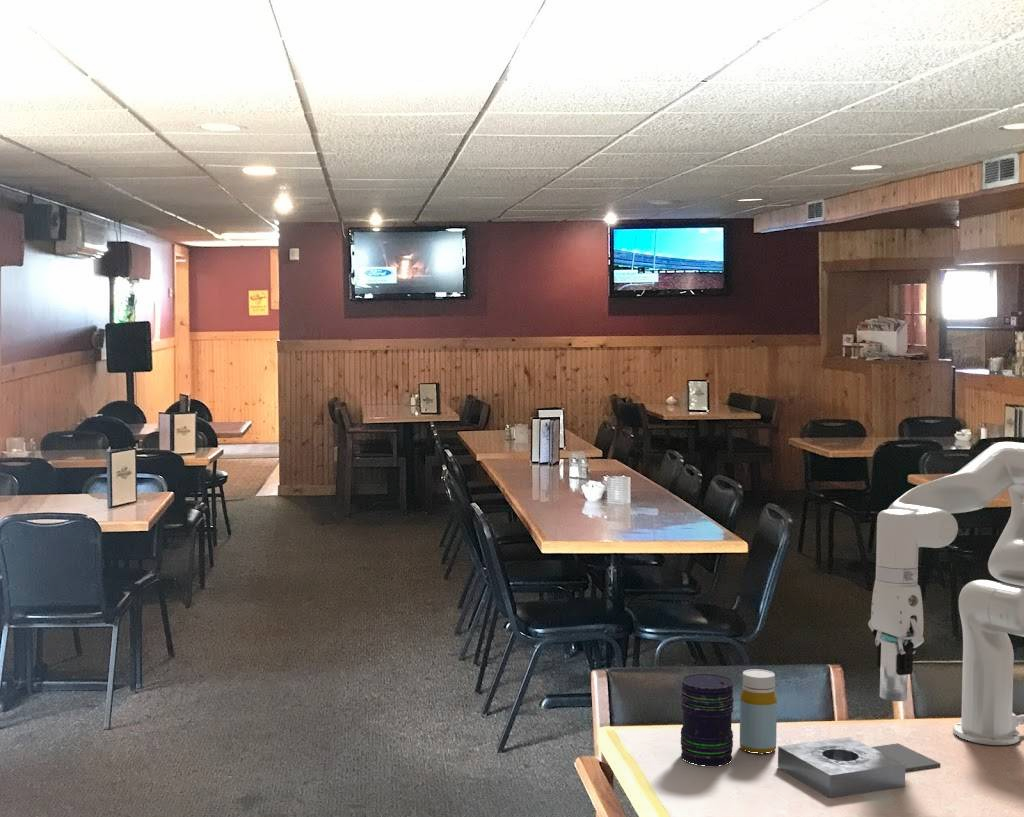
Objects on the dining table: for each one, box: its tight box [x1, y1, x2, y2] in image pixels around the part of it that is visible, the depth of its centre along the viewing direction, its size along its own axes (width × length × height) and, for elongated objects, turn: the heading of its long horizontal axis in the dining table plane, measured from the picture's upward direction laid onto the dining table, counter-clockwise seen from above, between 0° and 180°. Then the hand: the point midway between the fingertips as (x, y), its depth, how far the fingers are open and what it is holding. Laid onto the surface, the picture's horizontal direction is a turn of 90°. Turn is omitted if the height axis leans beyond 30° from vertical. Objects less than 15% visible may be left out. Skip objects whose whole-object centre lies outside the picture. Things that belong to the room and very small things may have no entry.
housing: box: [777, 736, 906, 799], centre depth 214 cm, size 16×16×4 cm
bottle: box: [739, 668, 778, 753], centre depth 228 cm, size 7×7×15 cm
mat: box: [870, 742, 941, 772], centre depth 223 cm, size 12×12×1 cm
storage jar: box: [680, 673, 734, 766], centre depth 223 cm, size 10×10×15 cm
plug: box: [879, 633, 909, 702], centre depth 222 cm, size 5×5×12 cm
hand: (894, 669), depth 222 cm, fingers closed on plug, 5 cm apart
